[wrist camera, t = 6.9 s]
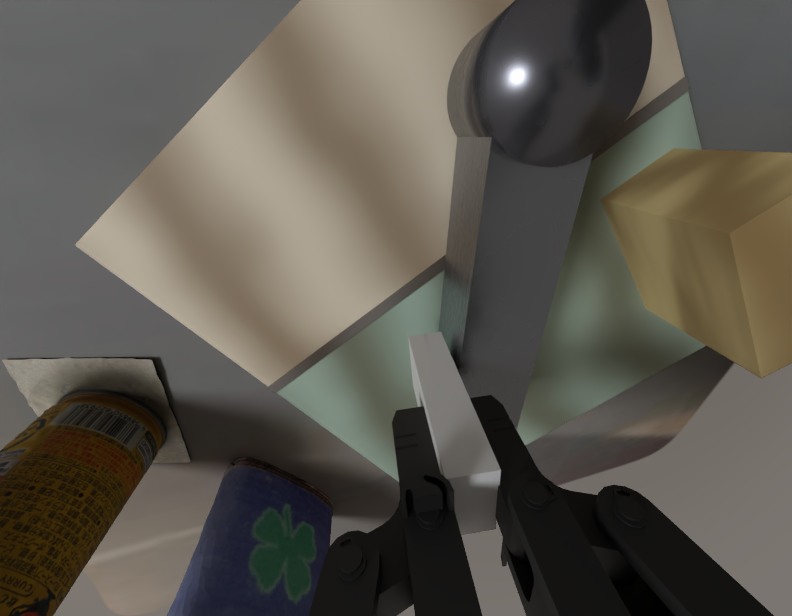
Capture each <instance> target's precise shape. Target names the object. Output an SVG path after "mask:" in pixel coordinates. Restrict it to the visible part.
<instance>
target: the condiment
mask: <svg viewBox="0 0 792 616" xmlns="http://www.w3.org/2000/svg"><path fill="white" fill-rule="evenodd" d="M2 361H3V363H4V365H5V366H6V368H7V370H8V372H9V374H10V375H11V376H12V378H13V379H14V380H15V381H16V383H17V385H18V388H19V390H20V392H22V393H23V394H24V396H25V397H26V399H27V401H28V404H29V405H30V406H31V407H32V408H33V410H34V412H35V413H36V414H37V415H38V419H37V420H35V421H34V422H33V423H32V424H31V425H29V426H28V427H27V428H26V429H25V430H24V431H23V432H21V433H20V434H19V435H18V436H17V437H16V438H15V439H14V440H13V441H11V442H10V443H9V444H7V445H6V446H5V447H4V448H3V449H2V450H1V451H0V616H53V615H54V613H55V612H56V610H57V609H58V607H59V605H60V604H61V603H62V601H63V600H64V598H65V597H66V595H67V594H68V592H69V590H70V589H71V587H72V586H73V584H74V582H75V581H76V579H77V578H78V576H79V575H80V573H81V572H82V570H83V568H84V567H85V566H86V564H87V563H88V561H89V560H90V558H91V556H92V555H93V553H94V552H95V550H96V549H97V547H98V546H99V544H100V542H101V541H102V540H103V538H104V536H105V535H106V533H107V532H108V530H109V528H110V527H111V525H112V524H113V522H114V521H115V519H116V518H117V516H118V515H119V513H120V512H121V510H122V509H123V507H124V505H125V504H126V502H127V501H128V499H129V497H130V496H131V494H132V493H133V491H134V490H135V488H136V487H137V485H138V484H139V482H140V481H141V479H142V478H143V476H144V474H145V473H146V472H147V470H148V468H149V467H150V465H151V464H152V463H185V462H191V461H190V459H189V456H188V452H187V450H186V446H185V443H184V441H183V439H182V435H181V432H180V429H179V427H178V426H177V421H176V419H175V417H174V415H173V412H172V411H171V409H170V407H169V404H168V400H167V397H166V395H165V391H164V388H163V386H162V383H161V381H160V380H159V378H158V376H157V374H156V370H155V367H154V364H153V362H152V360H149V359H133V358H129V359H123V358H111V359H105V358H68V357H67V358H60V359H25V360H2ZM65 385H69V388H68V389H65V388H64V387H65ZM63 390H66V391H67V392H66V393H62V391H63ZM146 398H147V399H148V400H146Z"/></svg>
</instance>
